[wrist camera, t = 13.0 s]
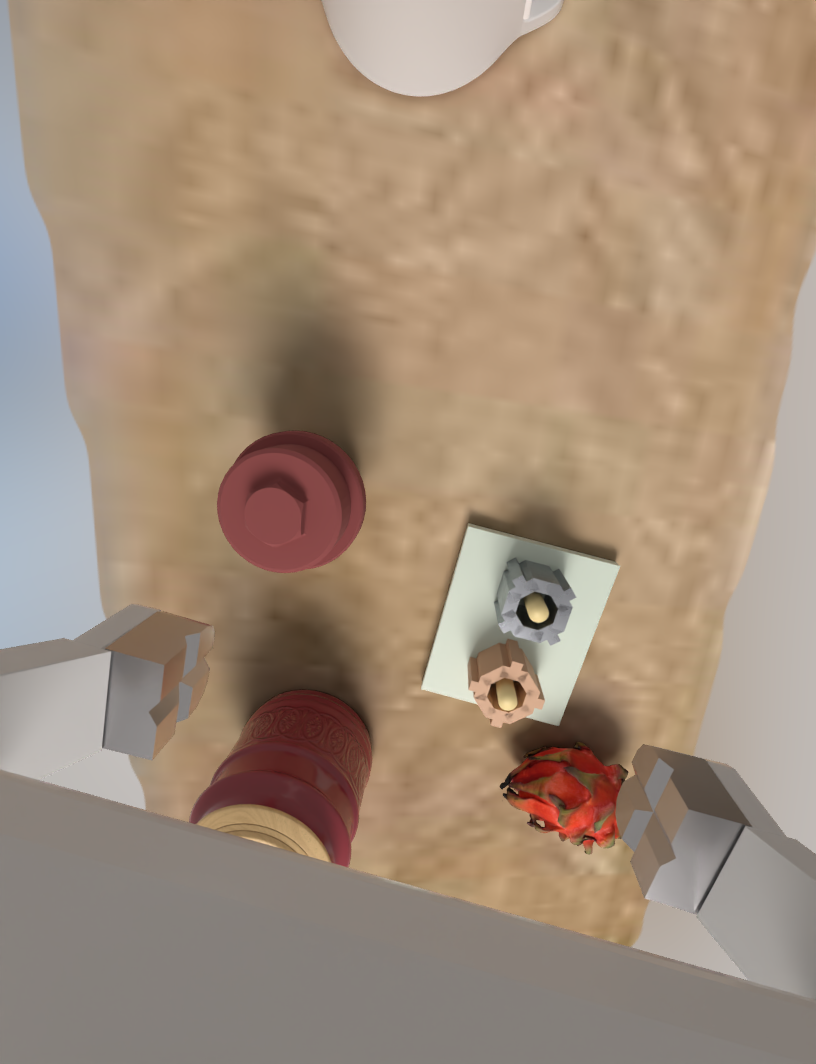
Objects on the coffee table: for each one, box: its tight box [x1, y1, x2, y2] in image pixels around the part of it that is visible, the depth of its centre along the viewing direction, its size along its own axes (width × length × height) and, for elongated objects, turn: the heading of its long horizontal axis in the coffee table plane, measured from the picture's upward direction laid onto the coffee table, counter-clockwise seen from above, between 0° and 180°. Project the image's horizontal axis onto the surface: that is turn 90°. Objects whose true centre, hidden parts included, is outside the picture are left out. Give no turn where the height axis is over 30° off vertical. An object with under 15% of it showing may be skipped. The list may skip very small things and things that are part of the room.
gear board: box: [421, 523, 620, 728], centre depth 42 cm, size 16×13×6 cm
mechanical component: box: [217, 431, 366, 573], centre depth 38 cm, size 12×10×10 cm
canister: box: [189, 690, 372, 867], centre depth 42 cm, size 13×13×18 cm
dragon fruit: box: [500, 742, 628, 854], centre depth 45 cm, size 8×8×12 cm
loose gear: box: [494, 557, 577, 646], centre depth 41 cm, size 5×5×4 cm
